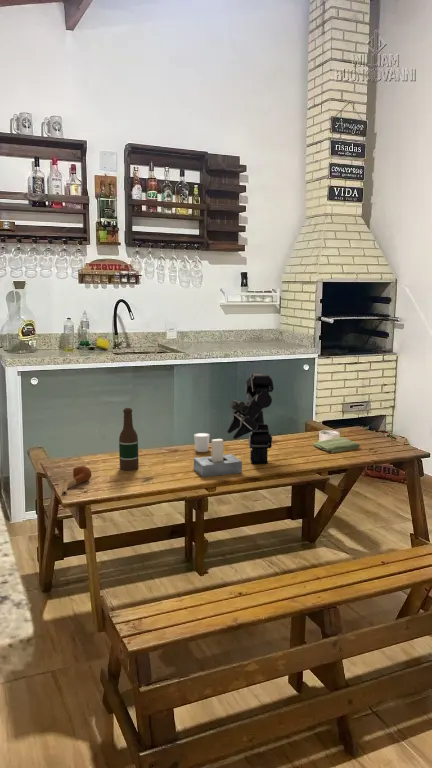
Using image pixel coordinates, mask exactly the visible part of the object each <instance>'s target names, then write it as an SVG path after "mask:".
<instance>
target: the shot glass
mask: <svg viewBox="0 0 432 768" xmlns="http://www.w3.org/2000/svg"><path fill="white" fill-rule="evenodd" d="M210 436H211V435H210V433H207V432H198V433H193V437H194V448H195V451H196V452H199V453H205V452H208V451H209V448H210V446H209V445H210Z"/></svg>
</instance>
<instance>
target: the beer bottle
mask: <svg viewBox="0 0 432 768" xmlns="http://www.w3.org/2000/svg"><path fill="white" fill-rule="evenodd" d="M122 413H123V426H122V430H121V432H120V434H119V439H118V446H119V447H118V448H119V452H118V453H119V454H118V455H119V468H120V470H121V471H124V472H125V471H135V470H138V469H139V464H140V463H139V460H140V459H139V438H138V433H137V431H136V430H135V428H134V424H133V408H131V407H129V408H128V407H125V408H123V411H122Z"/></svg>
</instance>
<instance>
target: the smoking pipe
mask: <svg viewBox="0 0 432 768" xmlns="http://www.w3.org/2000/svg"><path fill="white" fill-rule="evenodd" d="M72 473H73V474H72V476H73V477H72V478H71V479H70V480H68V481H66V482H65V483H64V484H63V487H62V495H67V494H68V488H71V487H73V486H77V485H79V484H81V483H84V482H88V481H89V480H90V479H91V478H92V471H91V469H90V468H89V467H88V466H85V465H80V466H76V467H73V470H72ZM65 493H66V494H65Z"/></svg>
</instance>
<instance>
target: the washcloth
mask: <svg viewBox="0 0 432 768" xmlns="http://www.w3.org/2000/svg"><path fill="white" fill-rule="evenodd" d="M313 446H314V448H318V449H320V450H322V451H327V452H328V453H331V454H335V453H339V452H346V451H351V450H357V449H359V448H360V447H361V444H360V443H358V442H356V441H353V440H349V439H348V438H346V437H344V436H343V437H342V436H339V437H337V438H331V439H325V440H320V441H316V442H315V443H313Z"/></svg>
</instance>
